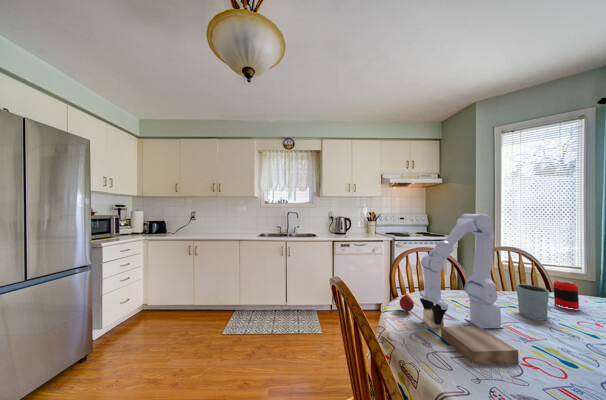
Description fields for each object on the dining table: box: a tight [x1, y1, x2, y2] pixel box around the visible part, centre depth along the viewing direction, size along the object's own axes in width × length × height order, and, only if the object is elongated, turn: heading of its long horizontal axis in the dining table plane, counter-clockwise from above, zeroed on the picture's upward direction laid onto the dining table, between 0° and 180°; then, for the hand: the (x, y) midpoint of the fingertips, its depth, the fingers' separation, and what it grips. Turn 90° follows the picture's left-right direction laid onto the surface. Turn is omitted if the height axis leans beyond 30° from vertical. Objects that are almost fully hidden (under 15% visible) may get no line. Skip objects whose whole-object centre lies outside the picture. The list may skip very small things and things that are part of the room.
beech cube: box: [422, 308, 445, 329], centre depth 88 cm, size 5×5×5 cm
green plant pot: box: [515, 283, 550, 320], centre depth 97 cm, size 10×10×12 cm
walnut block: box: [440, 325, 520, 365], centre depth 73 cm, size 14×14×4 cm
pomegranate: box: [399, 293, 415, 313], centre depth 99 cm, size 6×6×8 cm
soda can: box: [552, 279, 580, 309], centre depth 106 cm, size 8×8×12 cm
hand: (433, 320), depth 88 cm, fingers closed on beech cube, 5 cm apart
